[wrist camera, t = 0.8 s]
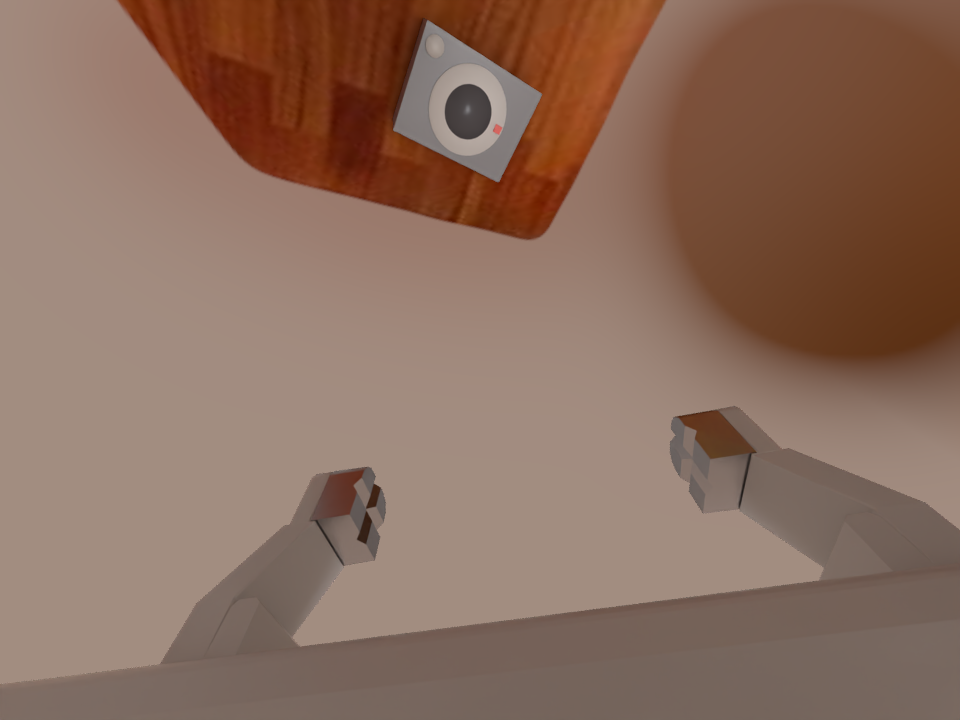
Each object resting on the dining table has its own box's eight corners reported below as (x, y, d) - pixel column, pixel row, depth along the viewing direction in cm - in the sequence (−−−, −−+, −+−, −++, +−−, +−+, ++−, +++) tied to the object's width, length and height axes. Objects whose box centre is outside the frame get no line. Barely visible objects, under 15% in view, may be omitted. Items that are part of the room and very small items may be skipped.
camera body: (392, 118, 41) (393, 131, 37) (423, 17, 36) (427, 20, 32) (489, 167, 46) (499, 183, 42) (528, 85, 41) (543, 95, 37)
